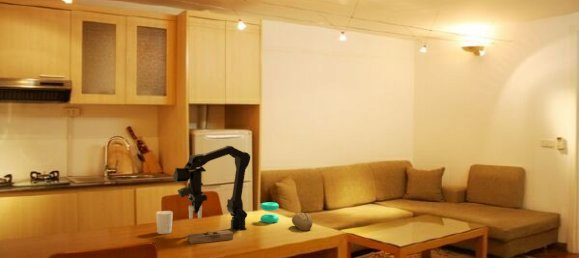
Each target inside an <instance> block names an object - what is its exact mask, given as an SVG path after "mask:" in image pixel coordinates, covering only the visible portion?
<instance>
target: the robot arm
mask: <svg viewBox="0 0 579 258" xmlns="http://www.w3.org/2000/svg"><path fill="white" fill-rule="evenodd" d="M228 155H229V156H230V157H232V158H234V165H235V175H234V176H235V177H234V183H233V189H232V196H231V197H230V199H229V198H228V199H227V202H226V206H225V207H226V208H227V212H228V213H229V214H230V216H231V220H230V229H232V231H244V230H247V228H246V219H247V217H248V212H246V211H245V210H244V202H243V199H242V196H243V190H244V181H245V175H246V170H247V168H248V167H249V164H250V162H251V154H250V153H249V152H245V151H242V150H240V149H238V148H236V147H234V146H232V145H225V146H224V147H220V148H219V149H215V150H212V151H209V152H205V153H196V154H192V155H190V156H189V158H188V161H187V162H186V164H185V166H184V167H175V168H174V172H173V180H174V181H173V182H175V183H182V182H183V183H184V182H185V183H186V182H188V181H189V182H188V183H187V186H184V187H181V188H180V189H178V190H177V193H178V196H179V197H180V198H184V197H187V199H188V200H189V201H190V204H191V206H194V210H195V211H193V213H194V214H198V211H199V209H200V207H201V206H203V205H202V204H203V203H204V201H205V202H207V201H208V195H206V194H205V193H204V191H202V190H203V188H202V187H203V186H204V183H203V181H202V177H203V176H202V175H203V173H202V172H207V169H205V168H204V167H203V166H205V165H206V164H207V163H209V162H210V161H213V160H217V159H219V158H223V157H224V156H225V157H226V156H228Z"/></svg>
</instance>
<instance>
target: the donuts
mask: <svg viewBox="0 0 579 258" xmlns="http://www.w3.org/2000/svg"><path fill="white" fill-rule="evenodd" d="M279 207H280V206H279V204H278V203H277V202H272V201H271V202H270V201H269V202H263V203H261V204H260V209H261V210H263V211H267V212H272V211H277V210H278V209H279ZM260 222H262V223H264V222H266V223H265V224H272V223H273V222H275V223H277V222H279V216H278V215H276V214H273V213H271V214H270V213H267V214H263V215H261V216H260ZM273 224H274V223H273Z"/></svg>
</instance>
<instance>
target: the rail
mask: <svg viewBox="0 0 579 258" xmlns="http://www.w3.org/2000/svg"><path fill="white" fill-rule="evenodd" d="M229 240H234V232H233V231H231V230H219V231H218V230H217V231H209V232H208V231H207V232H201V233H200V232H198V233H189V234H187V242H189V244H191V245H193V244H203V243H212V242H219V241H220V242H222V241H229Z"/></svg>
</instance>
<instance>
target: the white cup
mask: <svg viewBox="0 0 579 258" xmlns="http://www.w3.org/2000/svg"><path fill="white" fill-rule="evenodd" d="M173 215H174V213H173V211H171V210H161V211H159V210H158V211H157V212H155V217H156V231H157V234H159V235H167V234H171V233H172V227H173Z"/></svg>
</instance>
